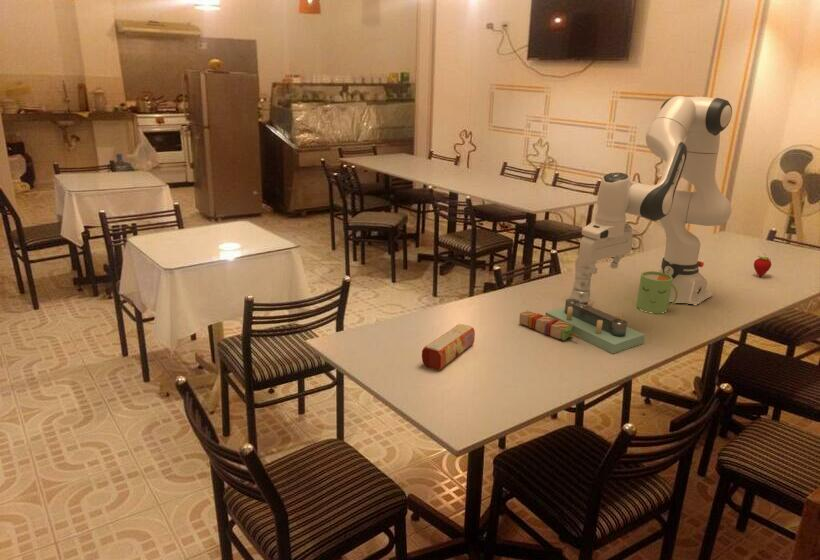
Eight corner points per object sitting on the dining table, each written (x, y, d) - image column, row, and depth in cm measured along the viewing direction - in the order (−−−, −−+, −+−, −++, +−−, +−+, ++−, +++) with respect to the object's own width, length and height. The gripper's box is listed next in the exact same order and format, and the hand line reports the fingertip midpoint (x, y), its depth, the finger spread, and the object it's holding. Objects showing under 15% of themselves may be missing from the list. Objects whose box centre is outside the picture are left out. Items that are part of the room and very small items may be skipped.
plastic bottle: (573, 297, 221) (579, 244, 214) (591, 301, 218) (598, 247, 211) (567, 302, 216) (574, 248, 209) (586, 306, 212) (593, 252, 206)
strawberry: (747, 276, 247) (752, 252, 244) (756, 273, 251) (762, 250, 248) (762, 280, 243) (768, 256, 239) (771, 277, 247) (777, 253, 243)
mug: (633, 310, 210) (639, 278, 206) (638, 301, 219) (643, 269, 215) (673, 318, 204) (679, 284, 200) (676, 307, 213) (682, 275, 209)
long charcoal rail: (571, 309, 202) (572, 298, 201) (628, 335, 184) (630, 323, 182) (561, 311, 200) (562, 300, 198) (618, 338, 181) (620, 326, 180)
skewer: (516, 326, 196) (517, 311, 194) (528, 320, 200) (529, 306, 199) (572, 347, 182) (574, 332, 180) (583, 341, 186) (585, 326, 185)
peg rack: (574, 312, 207) (577, 293, 205) (643, 343, 185) (647, 322, 183) (544, 320, 200) (546, 300, 198) (612, 353, 178) (615, 332, 176)
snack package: (457, 339, 185) (458, 319, 183) (476, 345, 182) (477, 324, 180) (420, 366, 169) (420, 344, 166) (440, 373, 165) (441, 351, 163)
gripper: (623, 220, 191) (617, 262, 196) (577, 229, 181) (573, 273, 186) (640, 225, 186) (634, 267, 191) (594, 235, 176) (588, 279, 181)
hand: (603, 270), depth 188 cm, fingers open, 8 cm apart
